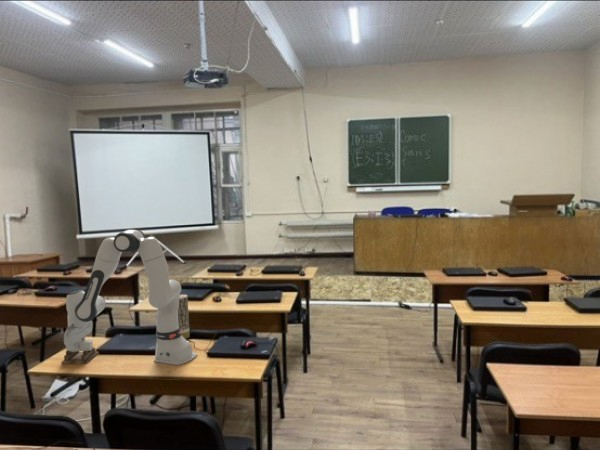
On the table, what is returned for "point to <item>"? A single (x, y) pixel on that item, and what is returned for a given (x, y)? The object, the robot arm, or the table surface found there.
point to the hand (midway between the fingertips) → (79, 347)
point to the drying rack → (79, 357)
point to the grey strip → (81, 346)
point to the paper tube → (183, 316)
